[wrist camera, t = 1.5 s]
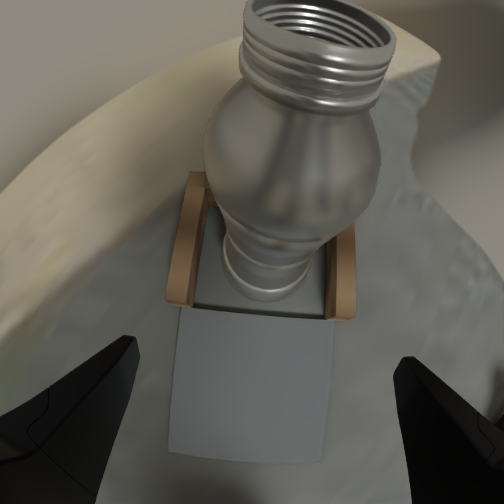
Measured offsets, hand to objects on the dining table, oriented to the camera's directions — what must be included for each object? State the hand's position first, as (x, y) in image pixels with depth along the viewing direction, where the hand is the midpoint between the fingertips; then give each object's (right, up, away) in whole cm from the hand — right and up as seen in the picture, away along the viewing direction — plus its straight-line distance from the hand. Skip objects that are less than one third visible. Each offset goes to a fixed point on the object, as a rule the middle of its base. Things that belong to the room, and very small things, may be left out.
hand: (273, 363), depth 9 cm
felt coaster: (-1, -7, +12) cm, 14 cm away
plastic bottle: (0, +2, +15) cm, 15 cm away
